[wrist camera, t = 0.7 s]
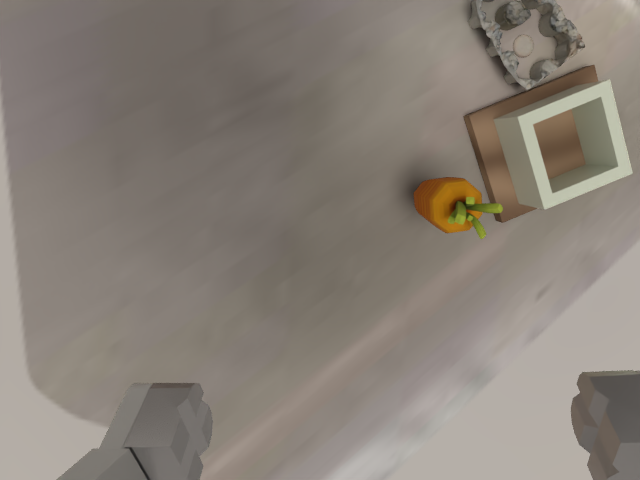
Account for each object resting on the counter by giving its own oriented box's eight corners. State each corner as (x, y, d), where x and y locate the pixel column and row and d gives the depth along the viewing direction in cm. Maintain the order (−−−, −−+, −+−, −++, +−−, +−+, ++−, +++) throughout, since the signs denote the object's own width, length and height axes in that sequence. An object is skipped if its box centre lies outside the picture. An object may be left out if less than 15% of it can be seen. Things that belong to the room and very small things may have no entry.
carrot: (448, 177, 53) (518, 191, 38) (434, 222, 53) (497, 252, 39) (405, 165, 52) (459, 174, 37) (392, 210, 53) (439, 236, 38)
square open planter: (493, 119, 50) (517, 116, 45) (576, 85, 51) (609, 79, 46) (518, 203, 52) (544, 209, 48) (598, 170, 53) (632, 173, 48)
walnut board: (463, 116, 51) (469, 115, 50) (585, 66, 52) (594, 64, 50) (496, 220, 54) (502, 222, 53) (611, 172, 54) (621, 173, 53)
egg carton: (565, 56, 52) (591, 49, 48) (507, 98, 52) (527, 95, 48) (517, -36, 49) (539, -52, 45) (456, 8, 49) (473, -3, 46)
